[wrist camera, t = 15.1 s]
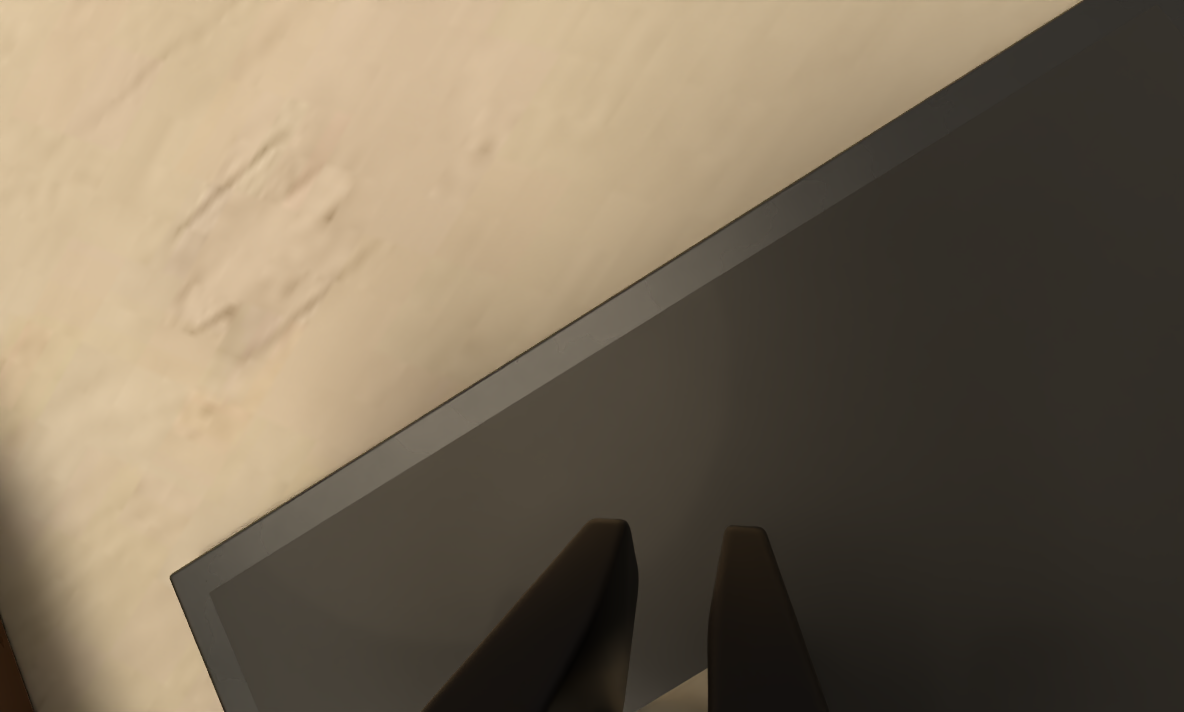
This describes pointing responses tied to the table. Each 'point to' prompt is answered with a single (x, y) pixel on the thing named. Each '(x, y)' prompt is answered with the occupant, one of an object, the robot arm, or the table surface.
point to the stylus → (683, 697)
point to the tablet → (813, 429)
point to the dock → (11, 680)
